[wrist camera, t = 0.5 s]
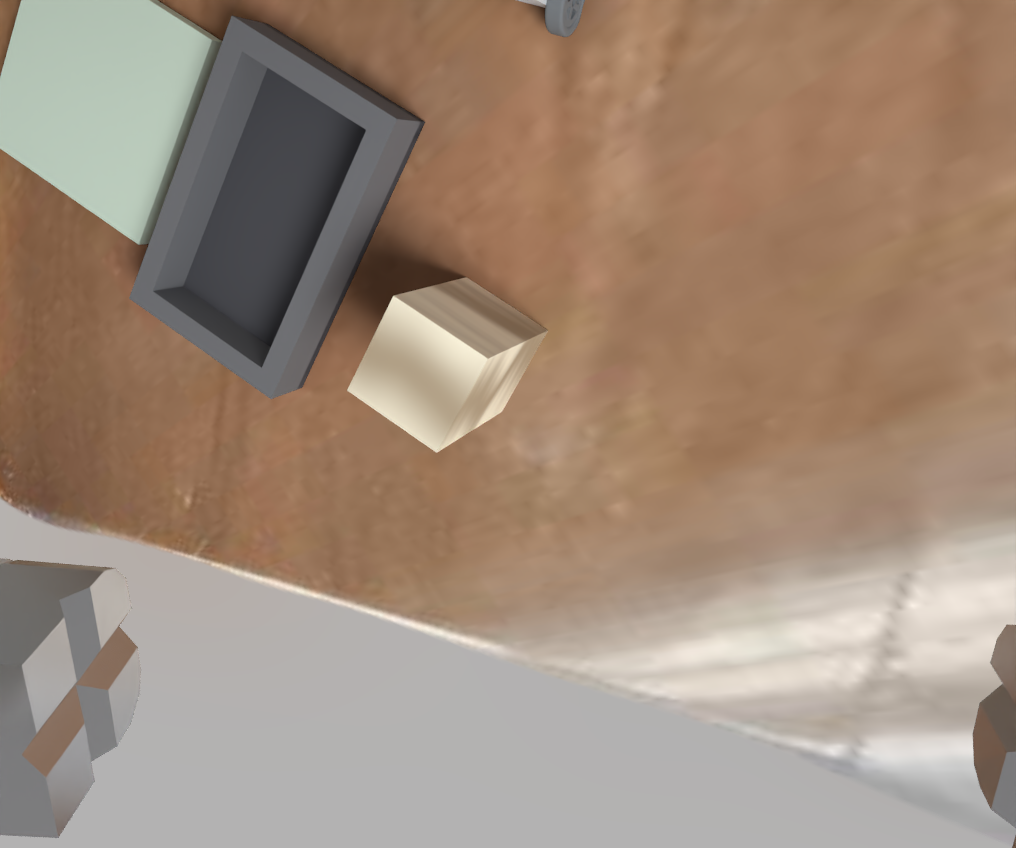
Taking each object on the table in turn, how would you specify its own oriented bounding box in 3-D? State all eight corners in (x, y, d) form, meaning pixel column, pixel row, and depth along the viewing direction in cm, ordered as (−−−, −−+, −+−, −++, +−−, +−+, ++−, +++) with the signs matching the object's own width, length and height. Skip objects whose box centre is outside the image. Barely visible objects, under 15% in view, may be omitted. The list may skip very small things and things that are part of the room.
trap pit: (267, 24, 49) (231, 15, 47) (425, 122, 48) (397, 119, 45) (166, 292, 56) (129, 298, 53) (302, 387, 54) (271, 399, 51)
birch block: (466, 276, 49) (393, 295, 42) (548, 330, 48) (487, 358, 41) (424, 359, 51) (347, 390, 44) (501, 411, 50) (436, 452, 43)
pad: (54, -65, 53) (40, -69, 52) (224, 42, 50) (211, 40, 50) (-2, 137, 57) (-17, 137, 56) (150, 243, 55) (138, 244, 54)
